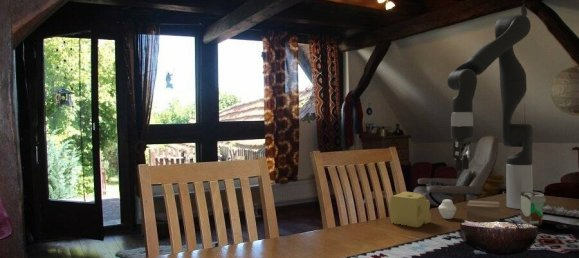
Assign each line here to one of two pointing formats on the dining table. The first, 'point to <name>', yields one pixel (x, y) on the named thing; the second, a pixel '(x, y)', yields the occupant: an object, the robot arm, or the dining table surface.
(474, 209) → the walnut block
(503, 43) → the robot arm
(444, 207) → the white vase
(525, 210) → the food container
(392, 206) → the cheese
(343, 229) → the dining table surface
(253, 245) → the dining table surface
